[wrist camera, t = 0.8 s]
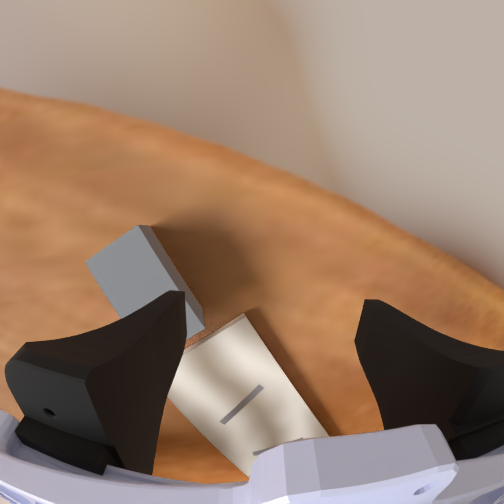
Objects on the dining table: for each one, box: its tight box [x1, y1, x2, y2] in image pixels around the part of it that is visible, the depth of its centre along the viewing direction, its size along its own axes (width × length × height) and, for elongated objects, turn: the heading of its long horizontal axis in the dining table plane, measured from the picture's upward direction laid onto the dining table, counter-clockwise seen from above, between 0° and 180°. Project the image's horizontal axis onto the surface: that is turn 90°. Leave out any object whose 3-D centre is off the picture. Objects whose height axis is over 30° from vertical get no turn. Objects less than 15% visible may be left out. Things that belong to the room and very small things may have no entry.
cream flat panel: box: [167, 313, 330, 478], centre depth 29 cm, size 11×24×1 cm, turn 31°
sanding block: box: [85, 225, 205, 340], centre depth 24 cm, size 5×9×6 cm, turn 31°
